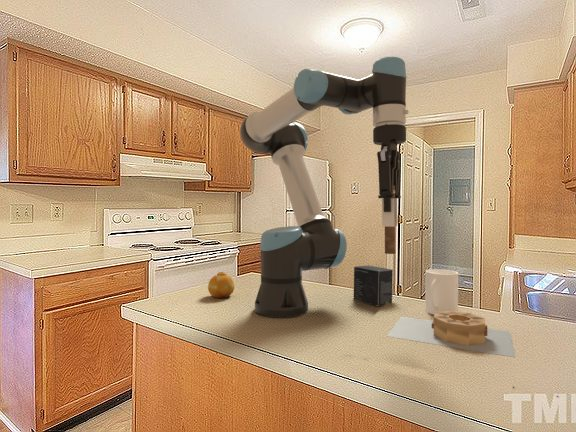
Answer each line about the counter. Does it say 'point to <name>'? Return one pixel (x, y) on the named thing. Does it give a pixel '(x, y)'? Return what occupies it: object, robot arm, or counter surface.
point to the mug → (441, 291)
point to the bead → (459, 327)
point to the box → (373, 285)
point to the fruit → (221, 285)
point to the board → (424, 332)
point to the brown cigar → (390, 234)
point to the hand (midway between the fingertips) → (389, 225)
